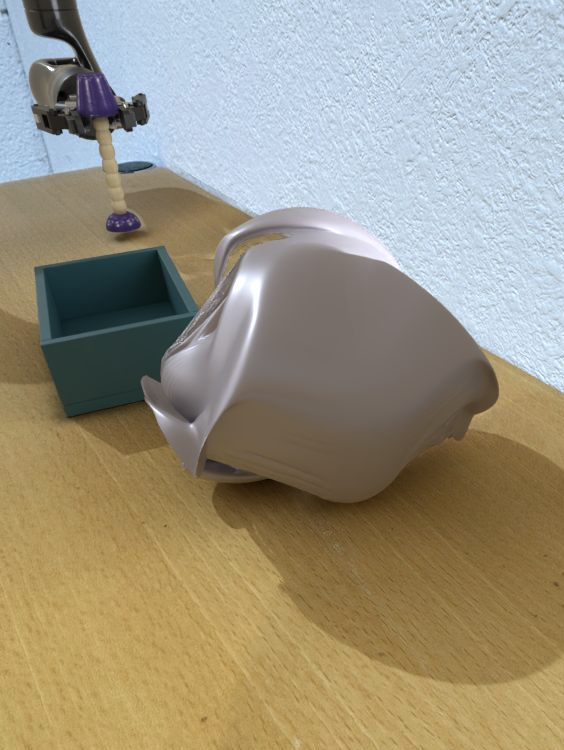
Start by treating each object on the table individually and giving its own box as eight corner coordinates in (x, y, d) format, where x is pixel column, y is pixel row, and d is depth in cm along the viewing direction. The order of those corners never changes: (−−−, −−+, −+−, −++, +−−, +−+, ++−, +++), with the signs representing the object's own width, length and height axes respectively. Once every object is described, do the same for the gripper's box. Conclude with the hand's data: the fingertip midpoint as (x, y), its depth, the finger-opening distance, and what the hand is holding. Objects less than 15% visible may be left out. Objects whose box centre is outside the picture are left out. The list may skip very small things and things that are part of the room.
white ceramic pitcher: (193, 593, 40) (158, 391, 29) (137, 402, 50) (96, 199, 39) (493, 511, 46) (558, 321, 35) (389, 357, 57) (414, 172, 46)
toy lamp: (130, 219, 90) (93, 69, 79) (154, 225, 88) (119, 71, 77) (99, 229, 87) (56, 75, 76) (123, 236, 85) (82, 77, 74)
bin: (55, 329, 66) (33, 266, 62) (177, 306, 69) (164, 245, 65) (66, 417, 53) (40, 345, 49) (216, 384, 56) (201, 314, 53)
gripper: (15, 73, 85) (25, 92, 73) (132, 63, 90) (160, 79, 78) (35, 141, 90) (48, 169, 78) (146, 128, 95) (174, 152, 82)
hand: (104, 124), depth 78 cm, fingers closed on toy lamp, 4 cm apart
